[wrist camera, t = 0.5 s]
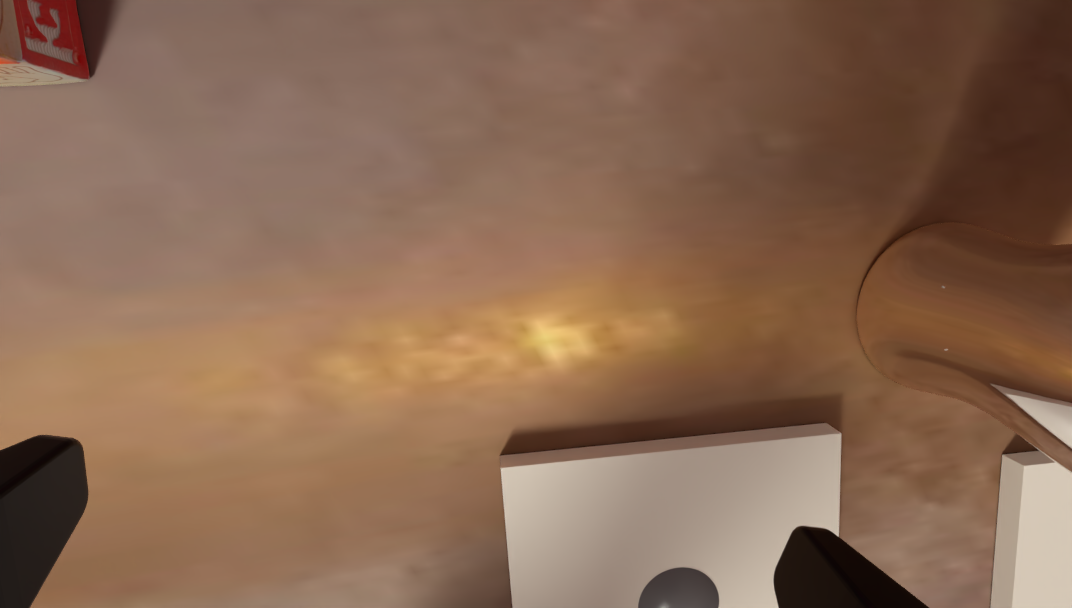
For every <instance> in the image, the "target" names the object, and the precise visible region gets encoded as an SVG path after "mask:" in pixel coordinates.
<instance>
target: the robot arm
mask: <svg viewBox="0 0 1072 608" xmlns="http://www.w3.org/2000/svg"><path fill="white" fill-rule="evenodd" d="M87 501H88V485H87V476H86V468H85V459H84V451H83V447H82V445H81V443H80V442H79V441H78V440H76V439H74V438H68V437H60V436H52V435H38V436H35V437H32V438H30V439H27V440H25V441H22V442H20V443H17V444H15V445H12V446H10V447H8V448H5V449H3V450H0V608H30V606H31V605H32V603H33V601H34V599H35V598H36V596H37V594H38V592H39V590H40V589H41V587H42V585H43V583H44V582H45V580H46V578H47V576H48V575H49V573H50V571H51V569H52V568H53V566H54V564H55V562H56V561H57V559H58V557H59V555H60V554H61V552H62V550H63V548H64V546H65V545H66V543H67V541H68V539H69V538H70V536H71V534H72V532H73V531H74V529H75V527H76V525H77V524H78V522H79V520H80V518H81V517H82V515H83V513H84V510H85V508H86V505H87ZM773 583H774V591H775V595H776V599H777V603H778V607H779V608H929V607H928V606H926V605H925V604H924V603H922V602H921V601H920V600H919V599H917V598H916V597H915V596H913V595H912V594H911V593H910V592H908V591H907V590H906V589H905V588H903V587H902V586H901V585H899V584H898V583H897V582H896V581H894V580H893V579H892V578H890V577H889V576H888V575H887V574H885V573H884V572H883V571H882V570H880V569H879V568H878V567H876V566H875V565H874V564H873V563H871V562H870V561H869V560H867V559H866V558H865V557H864V556H862V555H861V554H860V553H859V552H857V551H856V550H855V549H853V548H852V547H851V546H850V545H848V544H847V543H846V542H844V541H843V540H842V539H841V538H839V537H838V536H837V535H836V534H834V533H833V532H832V531H830V530H828V529H825V528H819V527H810V526H798V527H796V528H795V529H794V530H793V531H792V533H791V535H790V537H789V539H788V541H787V543H786V546H785V548H784V550H783V552H782V554H781V557H780V559H779V561H778V563H777V565H776V568H775V571H774V578H773Z"/></svg>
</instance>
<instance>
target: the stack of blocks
mask: <svg viewBox="0 0 1072 608" xmlns="http://www.w3.org/2000/svg"><path fill="white" fill-rule="evenodd" d="M89 79H90V75H89V68H88V64H87V59H86V54H85V48H84V43H83V38H82V33H81V27H80V22H79V17H78V12H77V6H76V0H0V86H30V85H48V84H63V83H73V82H82V81H87V80H89Z"/></svg>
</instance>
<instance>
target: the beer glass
mask: <svg viewBox="0 0 1072 608" xmlns="http://www.w3.org/2000/svg"><path fill="white" fill-rule="evenodd" d="M857 329H858V335H859V338H860V342H861V344H862V347H863V349H864V351H865V353H866V355H867V356H868V358H869V360H870V361H871V362H872V364H873V365H874V366H875V367H876V368H877V369H878V370H879V371H880V372H881V373H882V374H883V375H885V376H886V377H887V378H889V379H890V380H892V381H894V382H896V383H898V384H900V385H902V386H905V387H908V388H911V389H914V390H918V391H922V392H927V393H931V394H936V395H941V396H946V397H951V398H954V399H958V400H961V401H963V402H966V403H968V404H971V405H973V406H975V407H977V408H979V409H981V410H982V411H984V412H986V413H988V414H990V415H991V416H992V417H994V418H995V419H997V420H998V421H1000V422H1001V423H1002V424H1004V425H1005V426H1007V427H1008V428H1010V429H1011V430H1012V431H1014V432H1015V433H1016V434H1018V435H1019V436H1020V437H1022V438H1023V439H1024V440H1026V441H1027V442H1028V443H1030V444H1031V445H1032V446H1034V447H1035V448H1036V449H1038V450H1039V451H1040V452H1042V453H1043V454H1044V455H1046V456H1047V457H1049V458H1050V459H1051V460H1053V461H1054V462H1055V463H1057V464H1058V465H1060V466H1061V467H1062V468H1064V469H1065V470H1066V471H1068V472H1069V473H1071V474H1072V244H1060V245H1054V244H1037V243H1030V242H1024V241H1020V240H1017V239H1013V238H1010V237H1008V236H1005V235H1002V234H999V233H996V232H994V231H991V230H988V229H985V228H982V227H978V226H975V225H971V224H965V223H958V222H944V223H936V224H931V225H927V226H924V227H921V228H918V229H916V230H913V231H911V232H909V233H907V234H906V235H904V236H902V237H901V238H899V239H898V240H896V241H895V242H894V243H893V244H891V245H890V246H889V247H888V248H887V249H886V250H885V251H884V252H883V253H882V254H881V255H880V256H879V257H878V259H877V260H876V261H875V263H874V264H873V266H872V267H871V269H870V271H869V272H868V274H867V276H866V278H865V280H864V283H863V285H862V288H861V291H860V295H859V299H858V304H857Z"/></svg>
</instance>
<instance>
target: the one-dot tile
mask: <svg viewBox="0 0 1072 608" xmlns="http://www.w3.org/2000/svg"><path fill="white" fill-rule="evenodd" d="M500 466H501V478H502V490H503V501H504V513H505V525H506V537H507V549H508V560H509V572H510V584H511V596H512V607H513V608H779V607H778V603H777V599H776V595H775V591H774V583H773V578H774V571H775V568H776V565H777V563H778V561H779V559H780V557H781V554H782V552H783V550H784V548H785V546H786V543H787V541H788V539H789V537H790V535H791V533H792V531H793V530H794V529H795V528H796V527H798V526H810V527H819V528H825V529H828V530H830V531H832V532H833V533H834V534H836V535H837V536H838V537H839V508H840V469H841V433H840V432H839V431H837V430H836V429H835V428H833V427H832V426H830V425H829V424H827V423H820V424H810V425H800V426H790V427H780V428H770V429H760V430H750V431H740V432H730V433H720V434H710V435H700V436H690V437H681V438H671V439H661V440H651V441H641V442H631V443H621V444H611V445H601V446H591V447H581V448H571V449H561V450H551V451H541V452H531V453H522V454H512V455H502V456H500Z"/></svg>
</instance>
